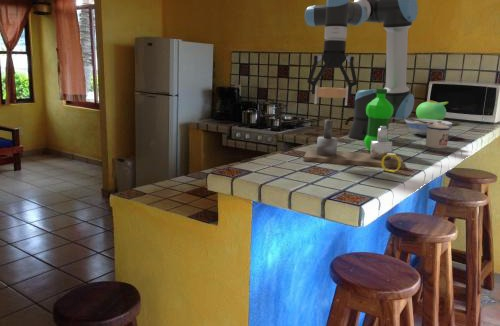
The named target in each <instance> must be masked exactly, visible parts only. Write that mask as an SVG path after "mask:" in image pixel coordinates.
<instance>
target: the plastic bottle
mask: <svg viewBox="0 0 500 326" xmlns="http://www.w3.org/2000/svg"><path fill="white" fill-rule="evenodd" d="M375 89H376V93H377V98H375V99H374V100H372V101H371V102H370V103H369V104H368V105H367V107H366V114H367V116H368V117H369V119H368V130H367V135H366V137H365V139H364V140H363V144H364V147H365V148H366V149H367V150H368V151H369V152H370V149H371V141H372V140H377V137H378V129H379V128H380V126H386V129H388V131H387V141H390V139H389V136H388V135H389V133H388V132H389V125H390V119H391V118H390V117H391V116H392V115H393V111H394V108H393V105H392V104H391V103H390V102H389V101H388V100H387V99H386V98H385V94H387V89H384V88H375Z"/></svg>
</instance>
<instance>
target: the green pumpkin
mask: <svg viewBox="0 0 500 326" xmlns="http://www.w3.org/2000/svg"><path fill="white" fill-rule="evenodd" d="M447 104H449V101H444V102H443V101H442V102H438V101H434V100H431V99H429V100H428V101H424V102H422V103H420V104H419V105H418V106H417V107H416V109H415V114H416V117H417V119H432V120H441V121H444V119H445V118H446V115H447V109H446V107H445V105H447Z"/></svg>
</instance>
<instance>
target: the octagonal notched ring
mask: <svg viewBox="0 0 500 326" xmlns="http://www.w3.org/2000/svg"><path fill="white" fill-rule="evenodd" d="M345 96H346V87H345V88H344V87H343V88H342V87H327V86H326V87H324V86H323V87H322V86H321V87H319V86H318V88H317V98H326V99H327V98H328V99H330V98H331V99H339V98H340V99H344V98H345Z"/></svg>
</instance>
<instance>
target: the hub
mask: <svg viewBox="0 0 500 326" xmlns="http://www.w3.org/2000/svg"><path fill="white" fill-rule="evenodd" d="M387 131H388V132H389V128H388V129H386V126H380V128H379V129H378V137H377V140H372V141H371V149H370V151H369V153H370V158H371V159H376V160H382V159H383V157H384V156H386V155H387V154H388V153H392V148H393V147H392V146H393V142H392V141H391V140H389V141H387ZM390 159H391V157H390V156H387V157H386V158H385V159H384V160H390Z"/></svg>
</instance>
